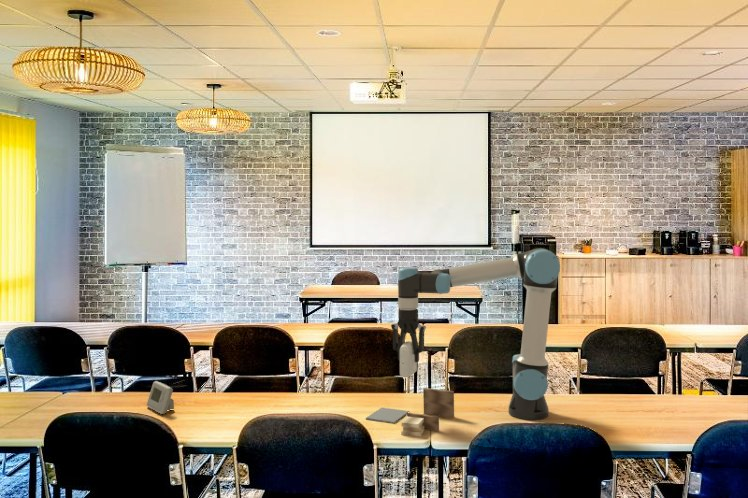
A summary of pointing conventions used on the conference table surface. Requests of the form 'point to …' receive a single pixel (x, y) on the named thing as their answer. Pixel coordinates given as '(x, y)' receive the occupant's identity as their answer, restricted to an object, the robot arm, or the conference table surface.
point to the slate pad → (387, 415)
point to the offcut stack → (412, 426)
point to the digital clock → (160, 398)
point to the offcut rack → (435, 407)
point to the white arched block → (406, 359)
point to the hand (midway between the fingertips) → (408, 369)
